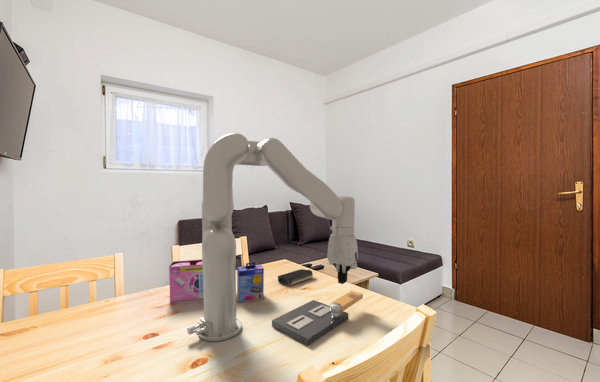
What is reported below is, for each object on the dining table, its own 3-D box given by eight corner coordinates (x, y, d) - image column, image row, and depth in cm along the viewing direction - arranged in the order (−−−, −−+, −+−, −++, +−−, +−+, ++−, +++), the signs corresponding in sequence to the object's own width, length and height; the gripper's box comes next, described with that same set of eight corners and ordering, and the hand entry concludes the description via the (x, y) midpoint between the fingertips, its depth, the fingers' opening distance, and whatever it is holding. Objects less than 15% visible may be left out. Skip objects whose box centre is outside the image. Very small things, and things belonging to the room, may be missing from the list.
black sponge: (288, 288, 117) (288, 279, 116) (276, 283, 123) (276, 274, 123) (314, 278, 128) (314, 271, 128) (301, 274, 134) (301, 267, 134)
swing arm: (326, 309, 87) (326, 304, 86) (351, 294, 98) (351, 290, 98) (338, 314, 84) (338, 309, 84) (362, 298, 95) (362, 293, 95)
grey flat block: (307, 346, 75) (307, 331, 75) (271, 326, 85) (271, 313, 85) (348, 319, 89) (348, 307, 89) (313, 305, 99) (313, 294, 99)
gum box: (234, 288, 116) (233, 256, 116) (234, 295, 109) (233, 262, 108) (173, 294, 111) (172, 261, 110) (169, 302, 103) (168, 267, 103)
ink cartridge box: (238, 303, 102) (238, 264, 101) (236, 297, 107) (236, 261, 106) (264, 299, 105) (264, 262, 105) (261, 293, 110) (260, 258, 110)
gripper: (319, 230, 98) (318, 280, 98) (357, 235, 89) (356, 291, 89) (330, 227, 104) (330, 275, 104) (367, 232, 95) (366, 284, 95)
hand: (342, 282), depth 97 cm, fingers closed
